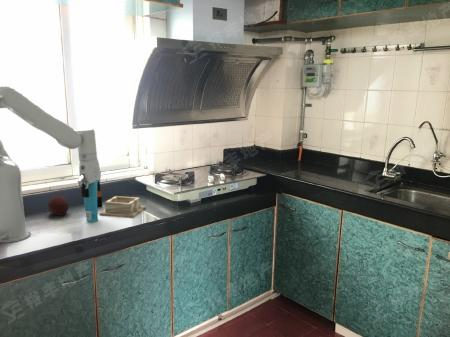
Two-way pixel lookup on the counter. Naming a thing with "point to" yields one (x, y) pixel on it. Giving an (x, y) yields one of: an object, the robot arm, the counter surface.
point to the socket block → (122, 207)
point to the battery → (99, 199)
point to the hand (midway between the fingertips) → (91, 194)
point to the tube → (91, 203)
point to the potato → (58, 205)
